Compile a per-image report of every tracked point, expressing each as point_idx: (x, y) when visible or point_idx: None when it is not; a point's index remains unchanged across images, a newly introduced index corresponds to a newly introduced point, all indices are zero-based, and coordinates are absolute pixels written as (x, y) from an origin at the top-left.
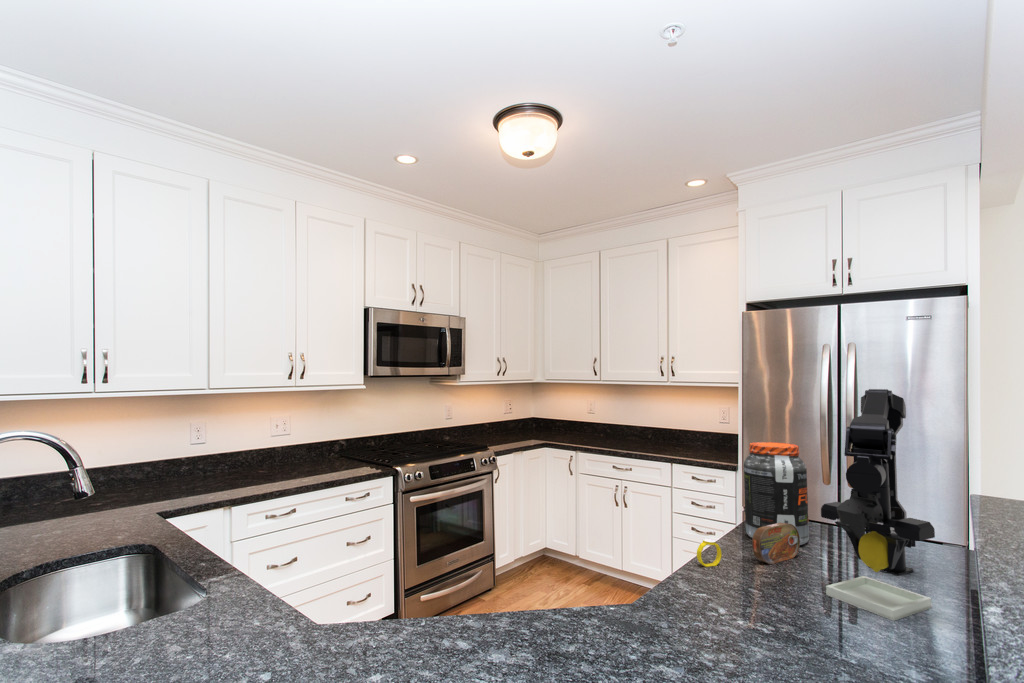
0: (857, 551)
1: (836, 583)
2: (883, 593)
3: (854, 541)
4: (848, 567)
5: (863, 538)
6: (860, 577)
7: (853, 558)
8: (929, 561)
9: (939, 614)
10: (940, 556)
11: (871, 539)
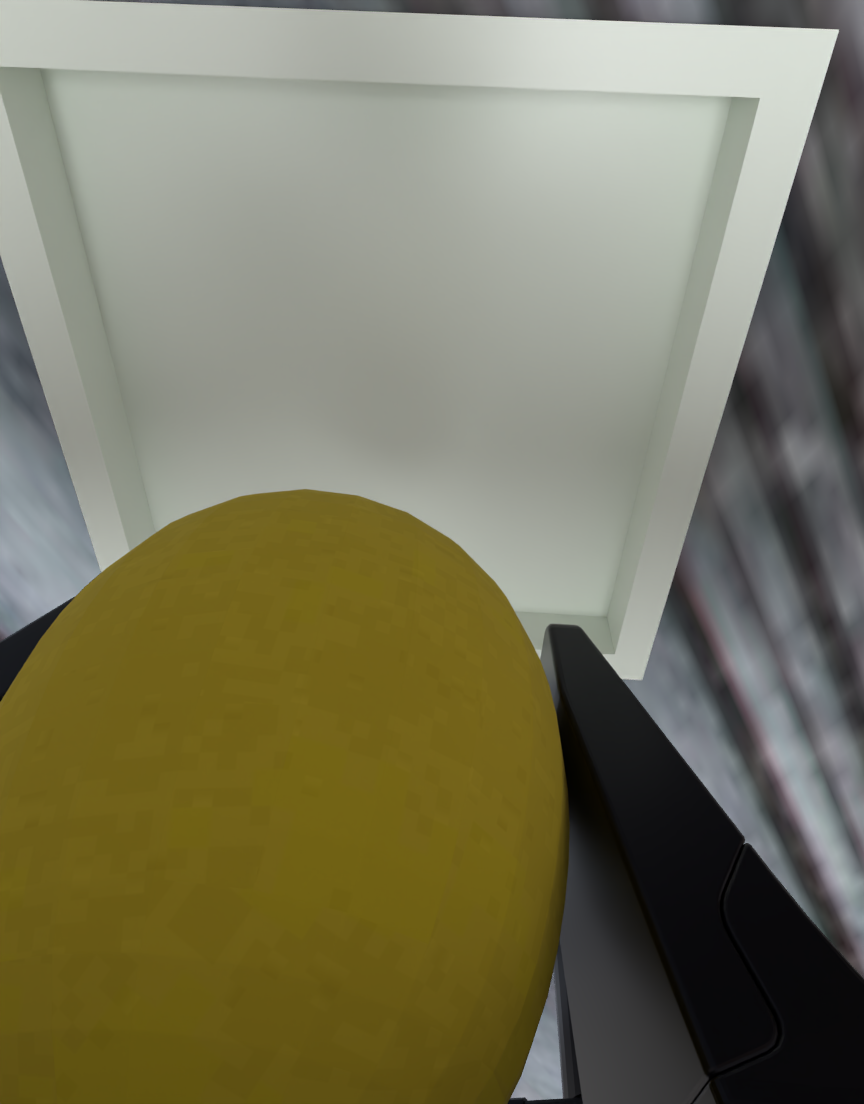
0: (589, 698)
1: (756, 274)
2: None
3: (667, 866)
4: (828, 808)
5: (343, 988)
6: (643, 631)
7: (845, 925)
8: (551, 1050)
9: (54, 537)
10: (550, 1095)
11: (54, 1011)
